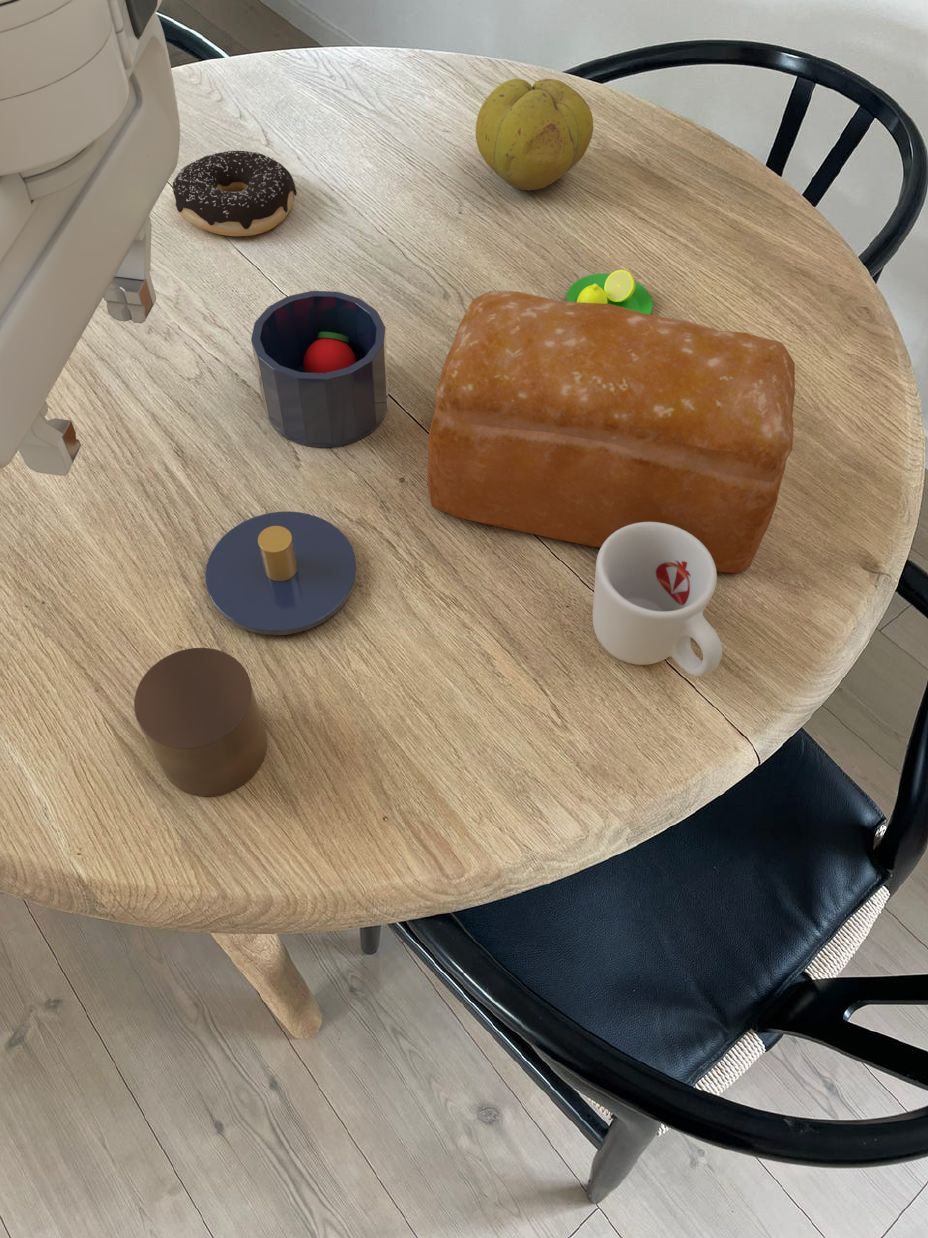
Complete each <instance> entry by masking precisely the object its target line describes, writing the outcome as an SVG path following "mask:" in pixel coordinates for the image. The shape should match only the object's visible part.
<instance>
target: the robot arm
mask: <svg viewBox="0 0 928 1238" xmlns="http://www.w3.org/2000/svg"><path fill="white" fill-rule="evenodd" d="M162 1H163V0H0V470H2V469H5V468H6V467H7V466H8V465H10V463H11V462H12V461H13V459H14V458H15V456H16V454H17V452H18V453H19V454H20V456H21V458H22V460H23V462H24V464H25V466H27V468H28V469H29V470H31V471H33V472H35V473H37V474H38V473H39V474H46V475H52V476H58V477H59V476H61V477H62V476H64V477H65V476H66V475H68V474H69V472H70V470H71V468H72V466H73V464H74V461H75V460H76V457H77V456H78V454H79V451H80V448H81V447H82V444H81V441H80V440H79V439H78V438H77V432H76V429H75V427H74V424H73V423H72V422H73V421H72V420H70V419H63V418H55V417H54V418H50V419H47V418H46V416H47V413H48V412H49V405H48V403H47V401H46V400H47V398H48V397H49V395H50V393H51V391H52V389H53V388H54V386H55V384H56V383H57V380H58V379H59V377H60V375H61V373H62V372H63V370H64V368H65V367H66V365H67V362H68V361H69V359H70V358H71V356H72V353H73V352H74V350H75V348H76V347H77V345H78V343H79V341H80V339H81V338H82V336H83V334H84V332H85V331H86V329H87V327H88V325H89V323H90V322H91V319H92V318H93V317H94V315H95V312H96V310H97V309H98V307H99V305H100V304H101V302H102V300H104V301H105V302H106V309H107V312H108V314H109V315H110V316H111V317H112V318H113V319H114V320H117V321H119V322H129V321H130V322H132V323H133V324H143V323H144V322H146V320H147V318H148V316H149V315H150V313H151V311H152V309H153V307H154V305H155V304H156V301H157V295H156V291H155V288H154V284H153V280H152V276H151V262H152V261H151V260H152V259H151V258H152V225H153V224H152V221H151V217H150V215H151V212H152V211H153V209H154V207H155V205H156V204H157V202H158V200H159V198H160V196H161V194H162V193H163V191H164V189H165V187H166V186H167V184H168V182H169V180H170V179H171V176H172V175H173V174H174V172H175V170H176V168H177V166H178V162H179V154H180V145H181V144H180V143H181V120H180V113H179V106H178V102H177V95H176V88H175V81H174V77H173V70H172V66H171V61H170V56H169V50H168V46H167V41H166V40H167V39H166V37H165V36H166V35H165V32H164V29H163V26H162V23H161V20H160V18H159V16H158V14H157V11H158V10H159V8H160V6H161V4H162Z"/></svg>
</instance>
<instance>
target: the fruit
mask: <svg viewBox="0 0 928 1238" xmlns="http://www.w3.org/2000/svg"><path fill="white" fill-rule="evenodd" d="M593 133H594V118H593V113H592V110H591V108H590V106H589V104H588V102H587V101H586V100H585V99H584V98H583V96H582V95H581V94H580V93H578V91H577V90H575V89H573V88H572V87H571V86H570V85H569V84H567V83H565V82H563V81H561V80H559V79H554V78H542V79H538V80H537V81H535V82H534V83H533V85H532V84H531V83H529V82H528V81H527V80H525V79H522V78H512V79H509V80H506V81H504V82H502V83H501V84H500V85H498V86H496V87H495V88H494V89H493V90H492V91H491V92H490V94H489V95H488V96H487V97H486V98H485V100H484V101H483V102H482V105H481V107H480V109H479V112H478V115H477V118H476V123H475V141H476V147H477V149H478V151H479V153H480V155H481V157H482V159H483V160H484V162H485V163H486V165H487V166H489V168H490V169H491V170H492V171H493V172H494V173H495V174H496V175H497V176H498V177H499V178H500V179H502V181H504V182H505V183H507V185H509V186H511V187H512V188H515V189H518V190H523V191H534V190H540V189H543V188H546V187H548V186H550V185H551V184H553V183H554V182H556V181H557V180H558V179H560V178H561V177H562V176H564V175H565V174H566V173H567V172H569V171H570V170H571V169H572V168H574V167H575V166H576V165H577V164H578V163H579V162H580V161H581V159H582V158H583V157H584V156H585V154H586V153H587V150H588V148H589V145H590V144H591V141H592V138H593Z"/></svg>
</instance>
